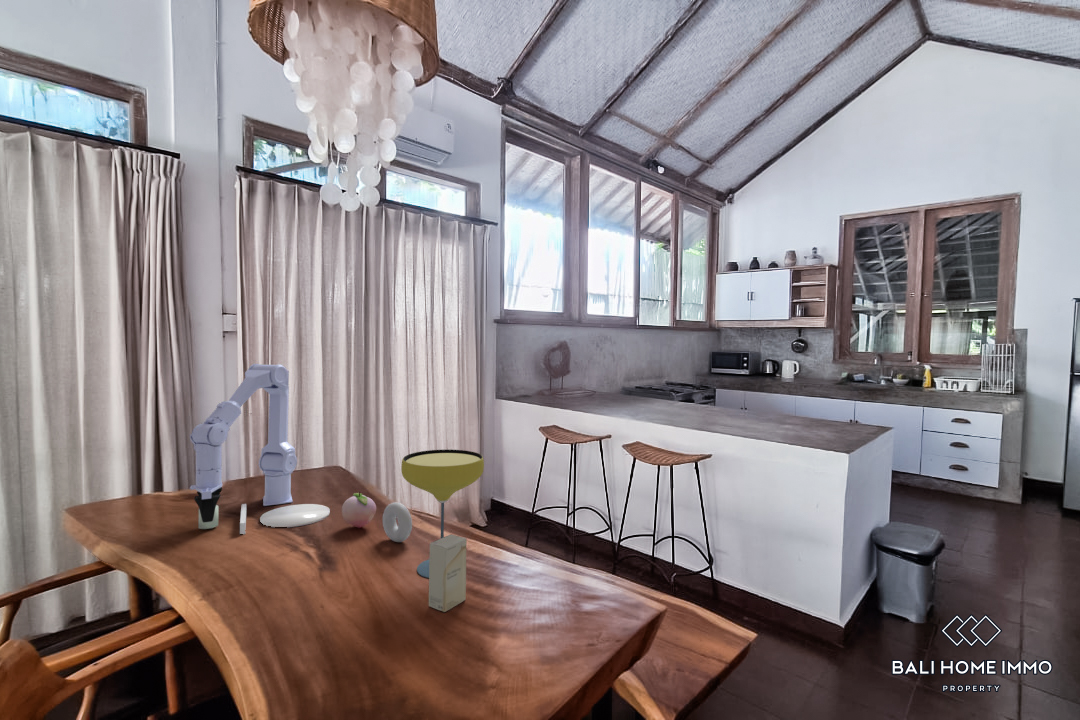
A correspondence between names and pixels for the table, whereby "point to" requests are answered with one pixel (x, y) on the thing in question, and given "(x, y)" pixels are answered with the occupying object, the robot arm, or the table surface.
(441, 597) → the skincare box
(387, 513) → the donut
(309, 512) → the white plate
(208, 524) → the green cylinder
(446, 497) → the cocktail glass
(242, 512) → the light grey rectangular bar
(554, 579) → the table surface
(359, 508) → the decorative fruit
